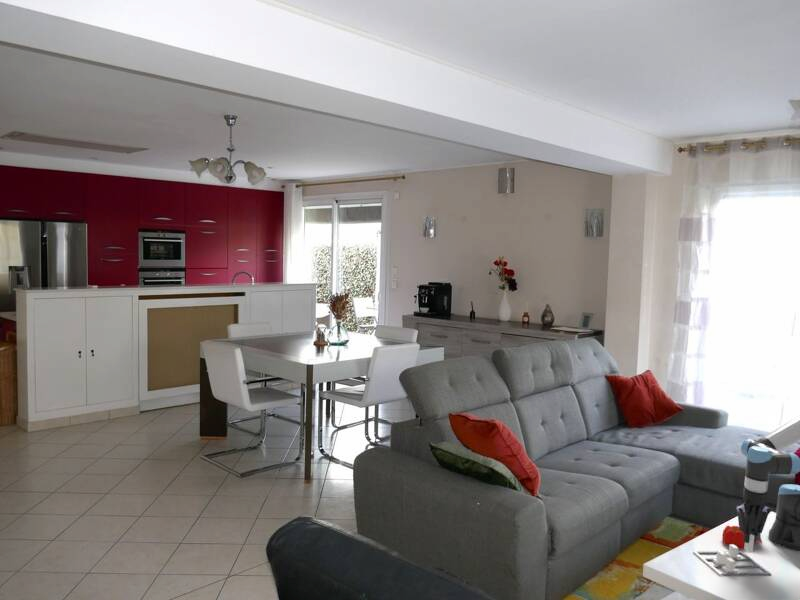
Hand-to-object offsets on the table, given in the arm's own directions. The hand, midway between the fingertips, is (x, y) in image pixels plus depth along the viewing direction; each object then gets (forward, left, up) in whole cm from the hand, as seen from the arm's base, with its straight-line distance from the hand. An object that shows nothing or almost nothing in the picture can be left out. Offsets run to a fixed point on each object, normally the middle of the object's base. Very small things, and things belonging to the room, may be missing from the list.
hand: (748, 550), depth 236 cm
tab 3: (+14, +10, -3) cm, 17 cm away
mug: (-13, -16, -4) cm, 21 cm away
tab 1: (+14, +5, -3) cm, 15 cm away
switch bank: (+10, +5, -4) cm, 12 cm away
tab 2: (+6, 0, -3) cm, 6 cm away
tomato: (-2, -11, -4) cm, 12 cm away
